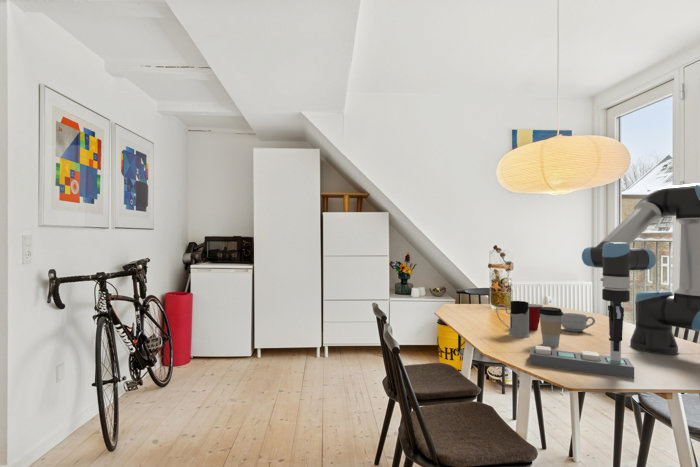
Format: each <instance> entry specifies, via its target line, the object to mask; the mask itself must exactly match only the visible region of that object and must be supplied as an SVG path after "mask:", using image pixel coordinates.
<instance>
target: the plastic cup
mask: <svg viewBox="0 0 700 467" xmlns="http://www.w3.org/2000/svg"><path fill="white" fill-rule="evenodd" d="M541 307H544V304H537V303H529V331H538V329H539V326H540V325H539V324H540V314H539V313H538V310H540V308H541Z"/></svg>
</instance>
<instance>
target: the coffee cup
mask: <svg viewBox="0 0 700 467" xmlns="http://www.w3.org/2000/svg"><path fill="white" fill-rule="evenodd" d="M538 313H539V314H540V320H539V324H540V325H539V326H540V332H541V337H542V339H541V340H542V346H546V347H551V348H557V347H560V337H561V331H562V315H564V314H563V313H564V312H563V311H562V308H559V307H555V306H554V307H552V306H543V307H541V308H540V310H538Z"/></svg>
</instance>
